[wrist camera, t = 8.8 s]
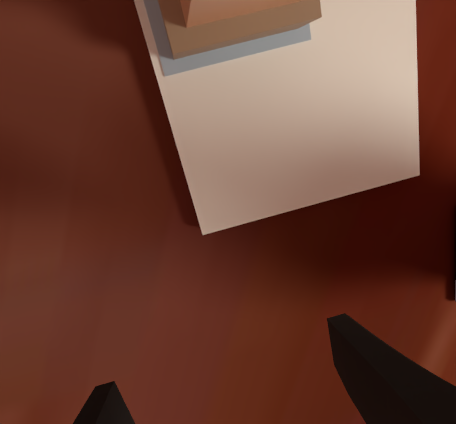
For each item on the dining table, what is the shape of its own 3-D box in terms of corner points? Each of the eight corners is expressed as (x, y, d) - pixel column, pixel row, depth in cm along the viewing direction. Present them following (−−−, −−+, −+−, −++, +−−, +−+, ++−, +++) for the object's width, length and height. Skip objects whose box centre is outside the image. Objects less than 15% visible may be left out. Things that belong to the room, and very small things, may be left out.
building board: (396, -166, 15) (469, -250, 11) (408, 171, 21) (459, 189, 17) (105, -101, 14) (80, -167, 11) (201, 228, 20) (206, 260, 16)
